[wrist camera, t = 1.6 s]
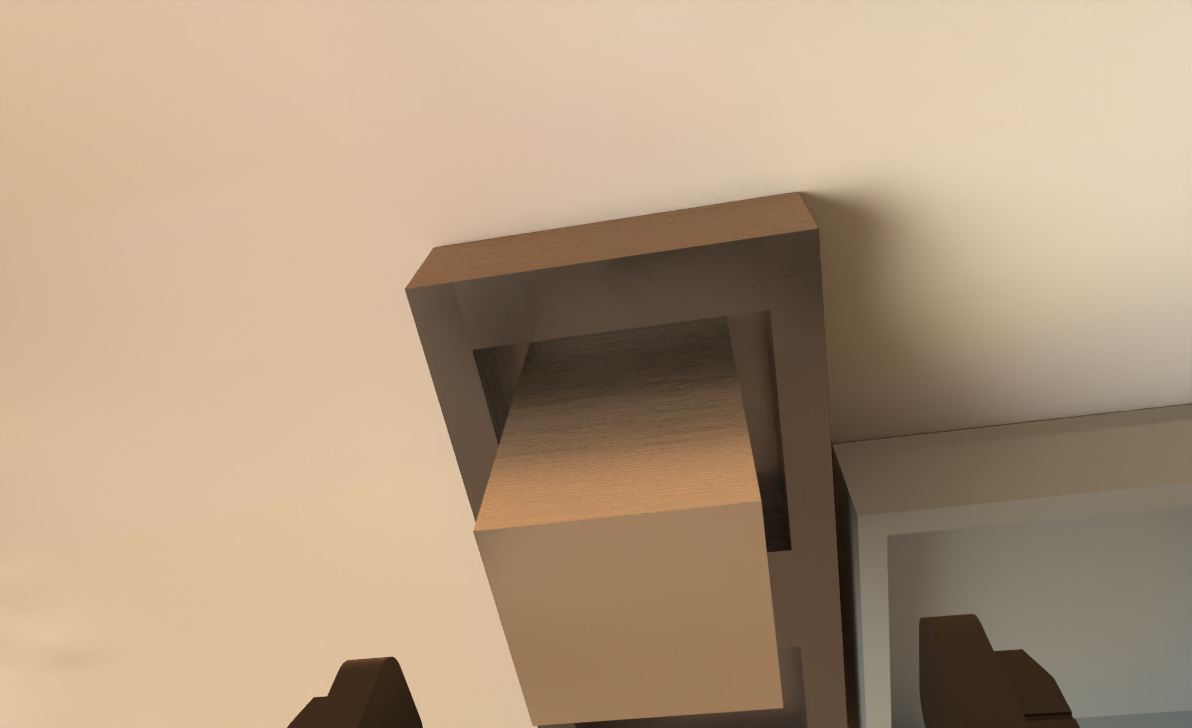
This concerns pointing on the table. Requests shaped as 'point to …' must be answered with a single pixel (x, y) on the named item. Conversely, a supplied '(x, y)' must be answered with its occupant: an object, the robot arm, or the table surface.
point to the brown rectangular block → (631, 531)
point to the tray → (1025, 559)
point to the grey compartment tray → (657, 299)
